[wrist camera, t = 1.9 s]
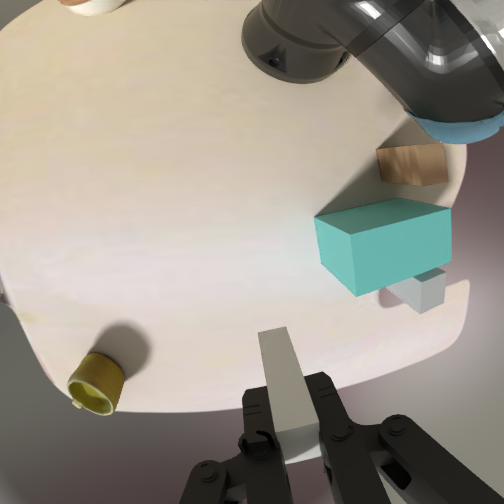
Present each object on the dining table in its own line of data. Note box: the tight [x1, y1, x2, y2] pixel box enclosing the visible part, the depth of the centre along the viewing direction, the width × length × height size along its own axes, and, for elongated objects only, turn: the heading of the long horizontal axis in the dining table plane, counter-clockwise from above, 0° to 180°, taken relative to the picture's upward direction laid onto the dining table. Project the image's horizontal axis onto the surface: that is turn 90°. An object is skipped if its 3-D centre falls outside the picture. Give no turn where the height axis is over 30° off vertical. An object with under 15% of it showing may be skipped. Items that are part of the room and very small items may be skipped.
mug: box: [67, 353, 124, 415], centre depth 37 cm, size 12×10×10 cm
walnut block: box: [376, 143, 448, 186], centre depth 31 cm, size 5×5×10 cm
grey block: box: [386, 268, 446, 314], centre depth 36 cm, size 5×5×10 cm
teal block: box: [314, 198, 452, 297], centre depth 33 cm, size 7×15×12 cm, turn 103°
